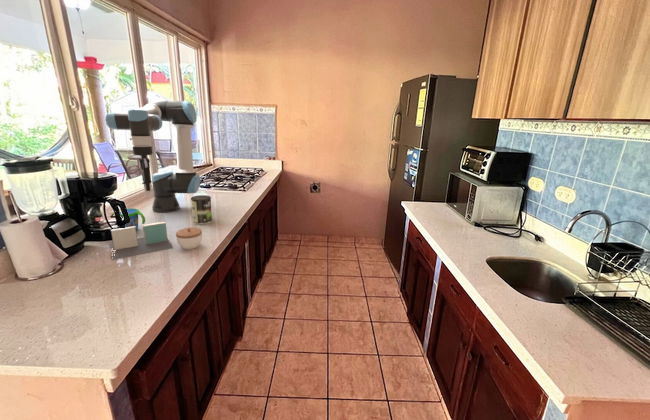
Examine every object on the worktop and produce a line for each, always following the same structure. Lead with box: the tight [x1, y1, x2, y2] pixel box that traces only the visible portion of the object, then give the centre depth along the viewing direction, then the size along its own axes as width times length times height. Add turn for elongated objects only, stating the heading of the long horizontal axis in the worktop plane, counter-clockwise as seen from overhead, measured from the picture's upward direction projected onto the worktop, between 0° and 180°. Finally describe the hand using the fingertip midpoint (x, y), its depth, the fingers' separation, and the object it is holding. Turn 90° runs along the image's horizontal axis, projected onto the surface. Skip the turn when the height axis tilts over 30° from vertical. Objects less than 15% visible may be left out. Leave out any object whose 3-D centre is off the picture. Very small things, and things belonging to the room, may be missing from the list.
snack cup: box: [110, 207, 146, 231], centre depth 154 cm, size 16×10×10 cm
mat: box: [108, 236, 174, 261], centre depth 137 cm, size 20×23×1 cm
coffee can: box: [190, 194, 213, 225], centre depth 170 cm, size 10×10×14 cm
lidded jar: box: [175, 227, 203, 250], centre depth 137 cm, size 11×11×9 cm
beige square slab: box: [142, 221, 169, 245], centre depth 140 cm, size 2×9×9 cm, turn 126°
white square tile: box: [110, 226, 138, 250], centre depth 133 cm, size 2×9×9 cm, turn 126°
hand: (148, 196), depth 142 cm, fingers closed
